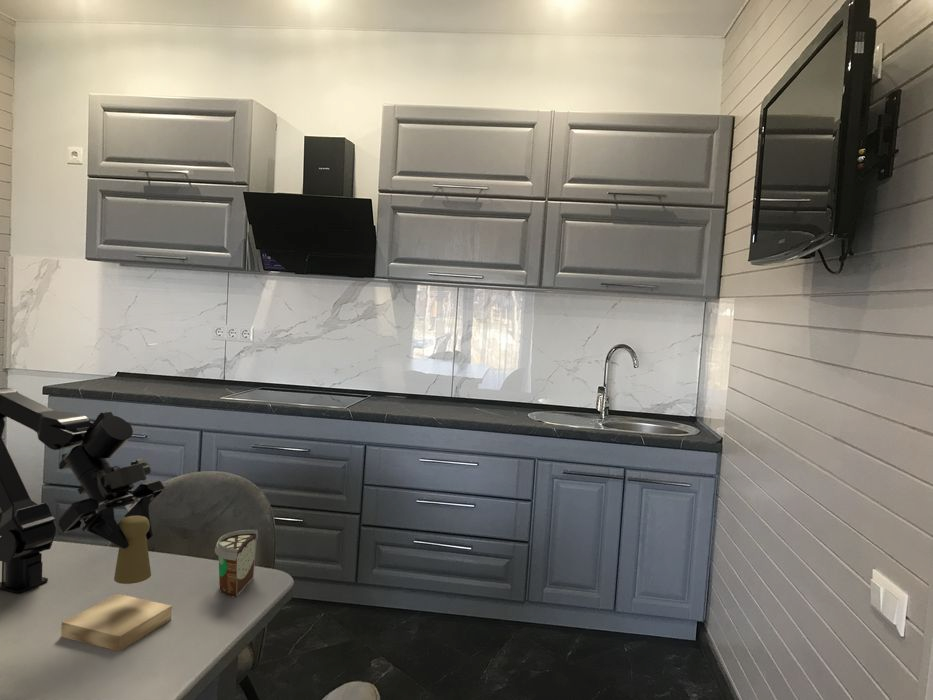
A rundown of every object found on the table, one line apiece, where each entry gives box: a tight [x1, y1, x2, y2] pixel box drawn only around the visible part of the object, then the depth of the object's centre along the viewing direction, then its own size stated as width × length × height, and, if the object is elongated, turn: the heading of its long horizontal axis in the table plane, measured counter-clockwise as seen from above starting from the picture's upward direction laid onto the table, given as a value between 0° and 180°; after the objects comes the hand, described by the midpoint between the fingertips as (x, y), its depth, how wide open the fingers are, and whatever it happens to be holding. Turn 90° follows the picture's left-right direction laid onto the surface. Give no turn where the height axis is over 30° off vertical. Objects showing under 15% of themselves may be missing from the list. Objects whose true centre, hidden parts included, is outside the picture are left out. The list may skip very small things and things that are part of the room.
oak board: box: [60, 593, 173, 652], centre depth 114 cm, size 12×12×2 cm
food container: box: [214, 529, 259, 598], centre depth 133 cm, size 12×6×10 cm, turn 178°
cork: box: [113, 515, 152, 585], centre depth 118 cm, size 6×6×11 cm
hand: (138, 542), depth 117 cm, fingers closed on cork, 5 cm apart
